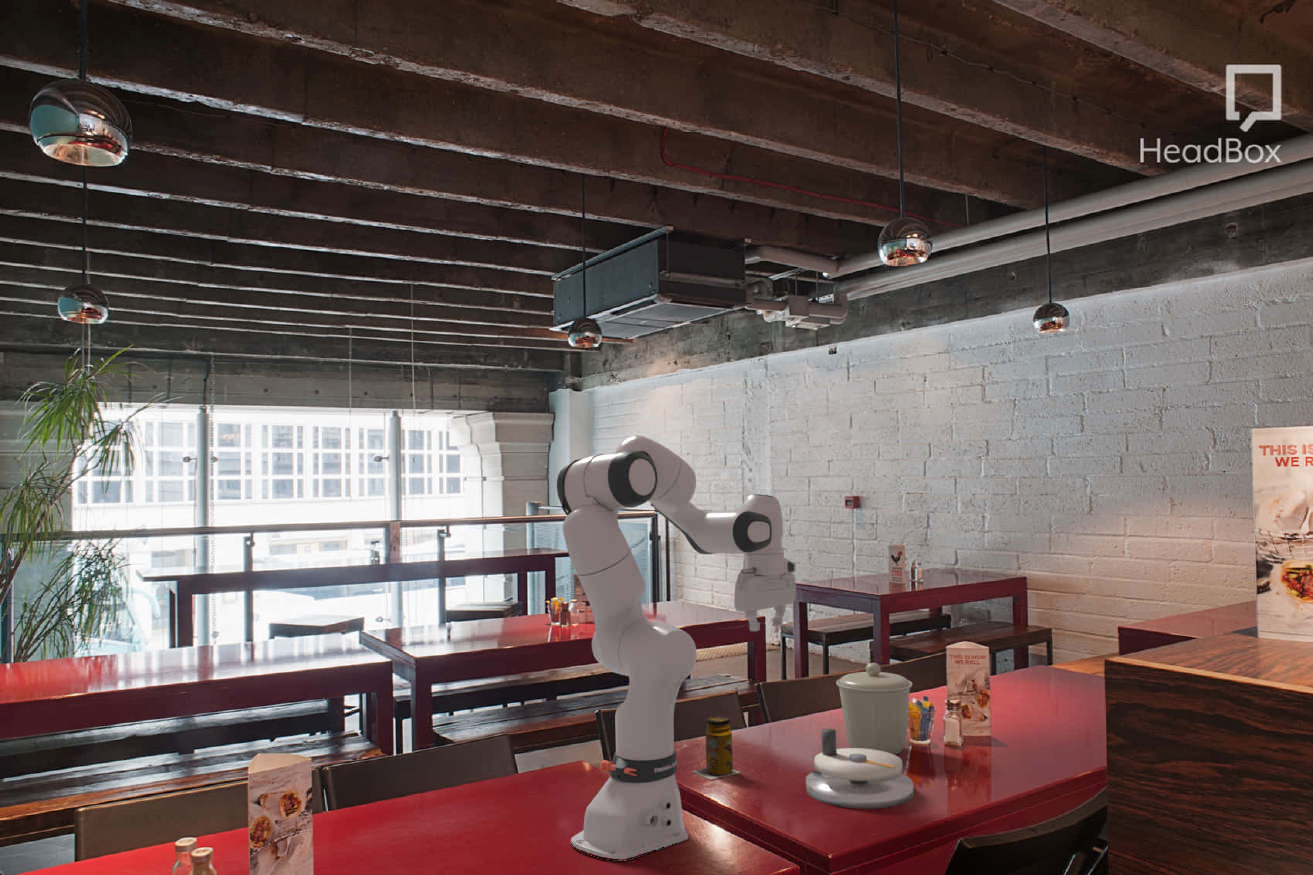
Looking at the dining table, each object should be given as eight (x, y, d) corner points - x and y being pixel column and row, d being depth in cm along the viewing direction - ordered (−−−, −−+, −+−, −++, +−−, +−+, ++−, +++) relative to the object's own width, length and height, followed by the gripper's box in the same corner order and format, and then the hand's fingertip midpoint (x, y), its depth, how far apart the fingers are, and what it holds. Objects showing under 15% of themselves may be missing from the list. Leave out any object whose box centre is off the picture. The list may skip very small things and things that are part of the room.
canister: (876, 766, 200) (872, 673, 202) (823, 748, 216) (819, 662, 217) (931, 753, 210) (927, 663, 211) (877, 737, 225) (873, 654, 227)
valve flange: (885, 816, 169) (883, 792, 169) (786, 794, 183) (785, 773, 183) (930, 786, 186) (929, 765, 186) (837, 768, 200) (836, 748, 200)
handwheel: (918, 765, 185) (916, 733, 185) (873, 786, 172) (872, 752, 172) (844, 750, 197) (843, 720, 198) (797, 768, 184) (796, 737, 185)
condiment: (740, 773, 198) (739, 719, 199) (711, 780, 194) (709, 725, 195) (721, 765, 205) (719, 713, 205) (691, 772, 200) (690, 718, 201)
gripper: (750, 569, 188) (752, 635, 187) (799, 563, 204) (801, 624, 203) (726, 569, 192) (728, 632, 191) (776, 563, 208) (778, 622, 207)
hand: (766, 628), depth 197 cm, fingers open, 8 cm apart
